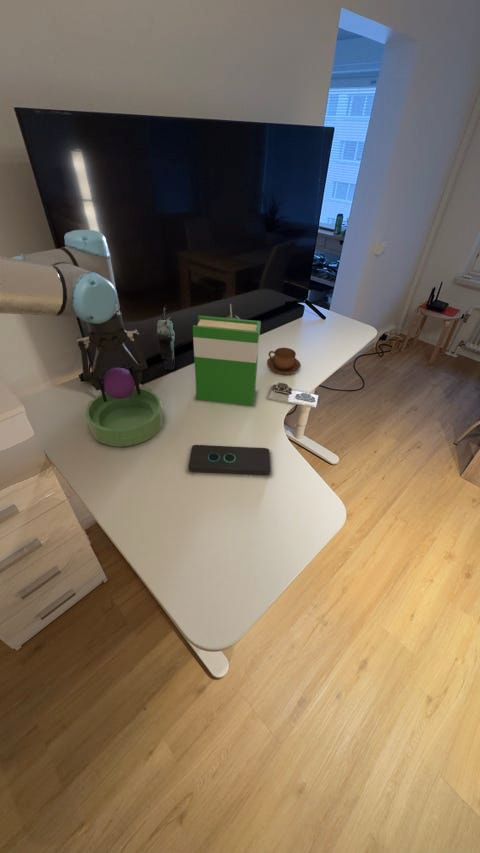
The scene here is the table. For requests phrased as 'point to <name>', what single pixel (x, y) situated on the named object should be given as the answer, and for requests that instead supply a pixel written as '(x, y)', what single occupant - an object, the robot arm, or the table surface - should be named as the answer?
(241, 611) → the table surface
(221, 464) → the smart home device
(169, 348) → the ceramic cat
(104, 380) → the ball
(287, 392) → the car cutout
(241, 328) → the hardback book
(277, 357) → the cup and saucer
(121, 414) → the bowl
